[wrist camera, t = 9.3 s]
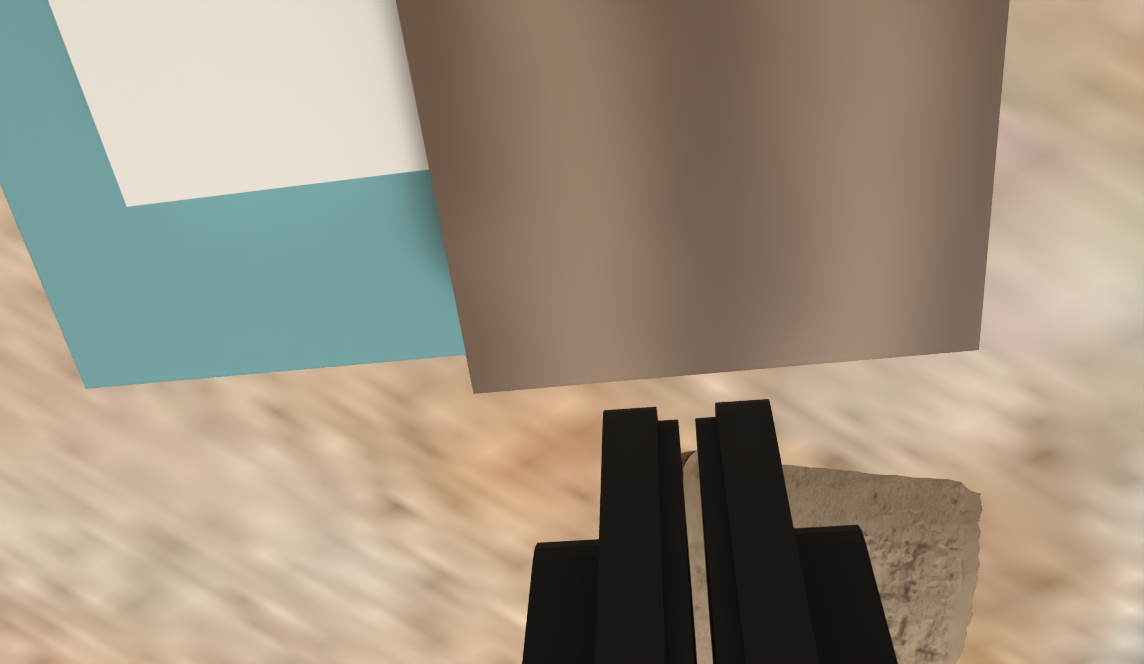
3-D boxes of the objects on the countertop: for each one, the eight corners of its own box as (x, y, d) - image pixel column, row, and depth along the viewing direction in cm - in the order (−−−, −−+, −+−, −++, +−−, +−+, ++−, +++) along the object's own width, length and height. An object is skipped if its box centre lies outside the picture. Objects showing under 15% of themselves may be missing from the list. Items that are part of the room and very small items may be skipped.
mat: (339, -360, 24) (335, -360, 23) (475, 347, 33) (474, 353, 32) (-185, -286, 24) (-196, -285, 24) (91, 381, 34) (86, 388, 33)
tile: (393, -100, 26) (378, -83, 24) (443, 139, 29) (433, 168, 27) (71, -53, 27) (35, -33, 25) (153, 175, 30) (126, 206, 28)
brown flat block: (978, -393, 23) (1045, -405, 20) (936, 275, 31) (979, 349, 28) (372, -310, 24) (335, -306, 21) (486, 316, 32) (473, 393, 29)
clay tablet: (679, 430, 35) (685, 485, 33) (994, 448, 35) (1022, 504, 33) (638, 729, 42) (640, 790, 40) (897, 743, 43) (914, 804, 40)
